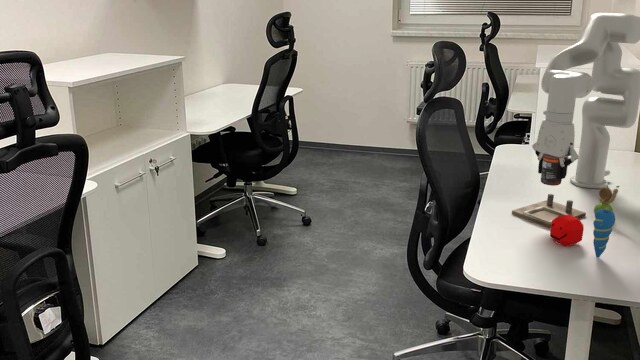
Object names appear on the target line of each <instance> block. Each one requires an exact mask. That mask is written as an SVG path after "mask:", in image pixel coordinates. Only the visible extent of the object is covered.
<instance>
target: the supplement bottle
mask: <svg viewBox="0 0 640 360" xmlns="http://www.w3.org/2000/svg"><path fill="white" fill-rule="evenodd" d="M559 166H561V165H560V160H559V158H558V157H554V156H550V155H547V154H544V156H543V164H542V173H540V183H542V184H543V185H546V186H552V187H554V186H559V185H561V184H562V180H563V179H560V180H559V179H557V175H558V167H559Z"/></svg>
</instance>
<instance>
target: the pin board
mask: <svg viewBox="0 0 640 360" xmlns="http://www.w3.org/2000/svg"><path fill="white" fill-rule="evenodd" d="M554 196H555V195H554V193H553V194H552V193H548V194H547V199H546V200H544V201H539V202H535V203H532V204H530V205H526V206H523V207H519V208H516V209H512V210H511V215H513V216H516V217H518V218H520V219H521V218H522V219H524V220H527V221H529V222H531V223H535V224H536V225H540V226H543V227H545V228H547V229H551V223H552V220H554V219H555V218H557V217H558V216H563V215H568V214H569V215H571V216H573V217H575V218H578V219H579V220H580V219H582V218H585V217H586V216H587V213H586V212H584V211H582V210H579V209H576V208H574V207H573V203H574V201H573V200H572V199H571V200H570V199H567V200H566V204H562V203H560V202H556V201H554Z"/></svg>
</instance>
